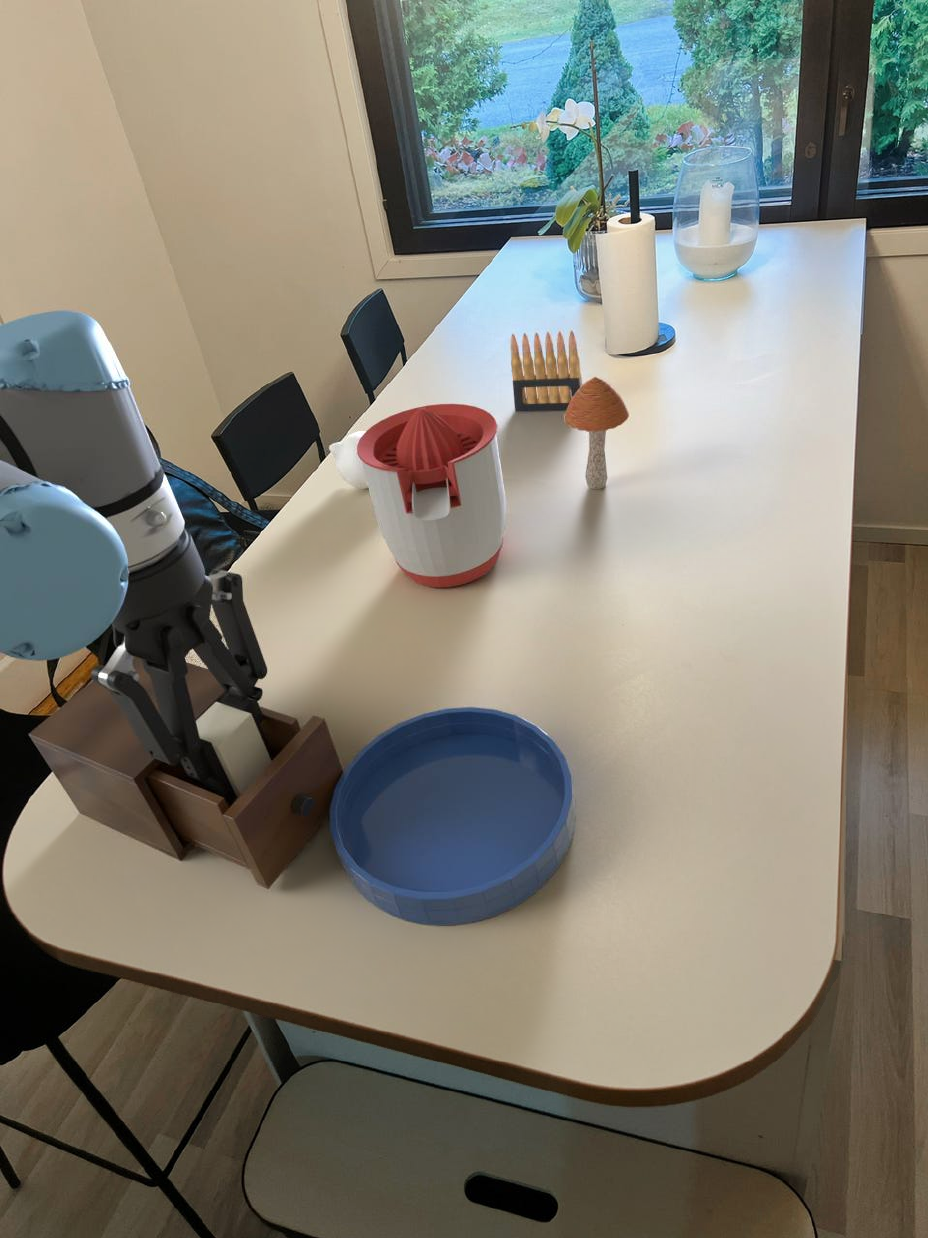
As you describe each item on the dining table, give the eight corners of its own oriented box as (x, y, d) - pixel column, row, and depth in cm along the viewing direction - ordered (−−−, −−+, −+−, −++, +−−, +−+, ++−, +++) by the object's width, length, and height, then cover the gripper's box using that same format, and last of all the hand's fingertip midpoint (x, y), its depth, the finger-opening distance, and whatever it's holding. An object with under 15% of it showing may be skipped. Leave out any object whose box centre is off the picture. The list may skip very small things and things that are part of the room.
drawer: (360, 792, 77) (336, 722, 72) (279, 895, 70) (245, 824, 65) (246, 750, 84) (216, 683, 78) (161, 840, 76) (122, 772, 71)
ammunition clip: (585, 404, 134) (579, 327, 127) (583, 409, 133) (576, 332, 125) (517, 406, 137) (508, 331, 130) (514, 411, 136) (505, 336, 129)
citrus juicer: (383, 618, 99) (341, 460, 86) (391, 536, 112) (356, 390, 100) (520, 599, 97) (497, 437, 85) (512, 519, 111) (490, 369, 99)
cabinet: (272, 760, 83) (238, 678, 77) (180, 861, 75) (133, 779, 69) (174, 723, 90) (134, 645, 84) (79, 813, 82) (27, 734, 76)
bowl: (505, 966, 63) (498, 939, 61) (292, 872, 73) (280, 845, 70) (612, 770, 76) (610, 742, 74) (420, 712, 85) (413, 685, 83)
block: (247, 809, 72) (218, 747, 68) (213, 795, 74) (182, 734, 70) (278, 775, 75) (251, 713, 70) (243, 762, 77) (215, 701, 72)
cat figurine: (413, 416, 117) (329, 419, 120) (404, 487, 114) (318, 488, 117) (429, 449, 126) (350, 451, 128) (421, 516, 122) (340, 517, 125)
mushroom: (644, 485, 112) (641, 375, 103) (594, 508, 110) (586, 397, 101) (606, 464, 118) (600, 358, 109) (558, 486, 116) (547, 378, 107)
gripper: (72, 632, 52) (203, 868, 67) (255, 491, 63) (335, 719, 77) (-3, 608, 56) (137, 837, 70) (182, 478, 67) (271, 699, 81)
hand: (240, 775), depth 74 cm, fingers closed on block, 4 cm apart
